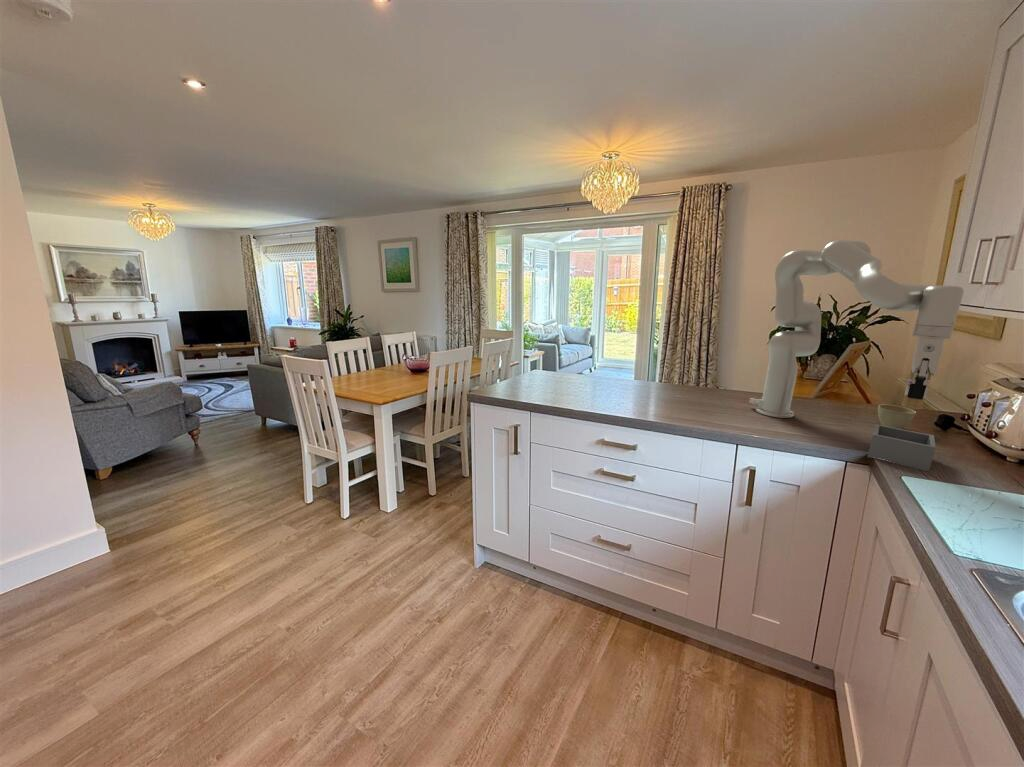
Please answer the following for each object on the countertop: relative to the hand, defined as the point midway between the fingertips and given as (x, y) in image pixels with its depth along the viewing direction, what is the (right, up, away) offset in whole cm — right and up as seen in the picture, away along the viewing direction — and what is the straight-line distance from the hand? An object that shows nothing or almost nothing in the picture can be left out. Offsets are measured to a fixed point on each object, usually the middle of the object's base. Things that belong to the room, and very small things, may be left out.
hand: (914, 396), depth 118 cm
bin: (-1, -18, +5) cm, 19 cm away
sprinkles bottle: (0, -3, +1) cm, 4 cm away
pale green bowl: (+21, -12, +30) cm, 39 cm away
